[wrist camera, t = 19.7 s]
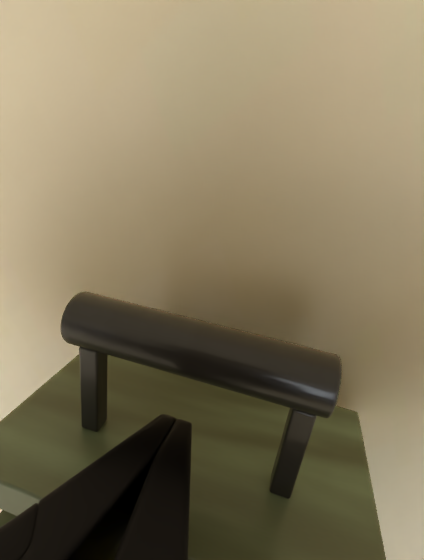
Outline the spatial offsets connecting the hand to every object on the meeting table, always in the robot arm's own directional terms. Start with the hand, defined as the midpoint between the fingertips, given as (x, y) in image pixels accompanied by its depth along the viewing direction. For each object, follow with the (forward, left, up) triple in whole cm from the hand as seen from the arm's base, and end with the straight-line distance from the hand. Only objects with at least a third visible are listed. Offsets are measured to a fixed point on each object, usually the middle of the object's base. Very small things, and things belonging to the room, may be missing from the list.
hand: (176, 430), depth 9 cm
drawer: (-6, 0, -5) cm, 8 cm away
